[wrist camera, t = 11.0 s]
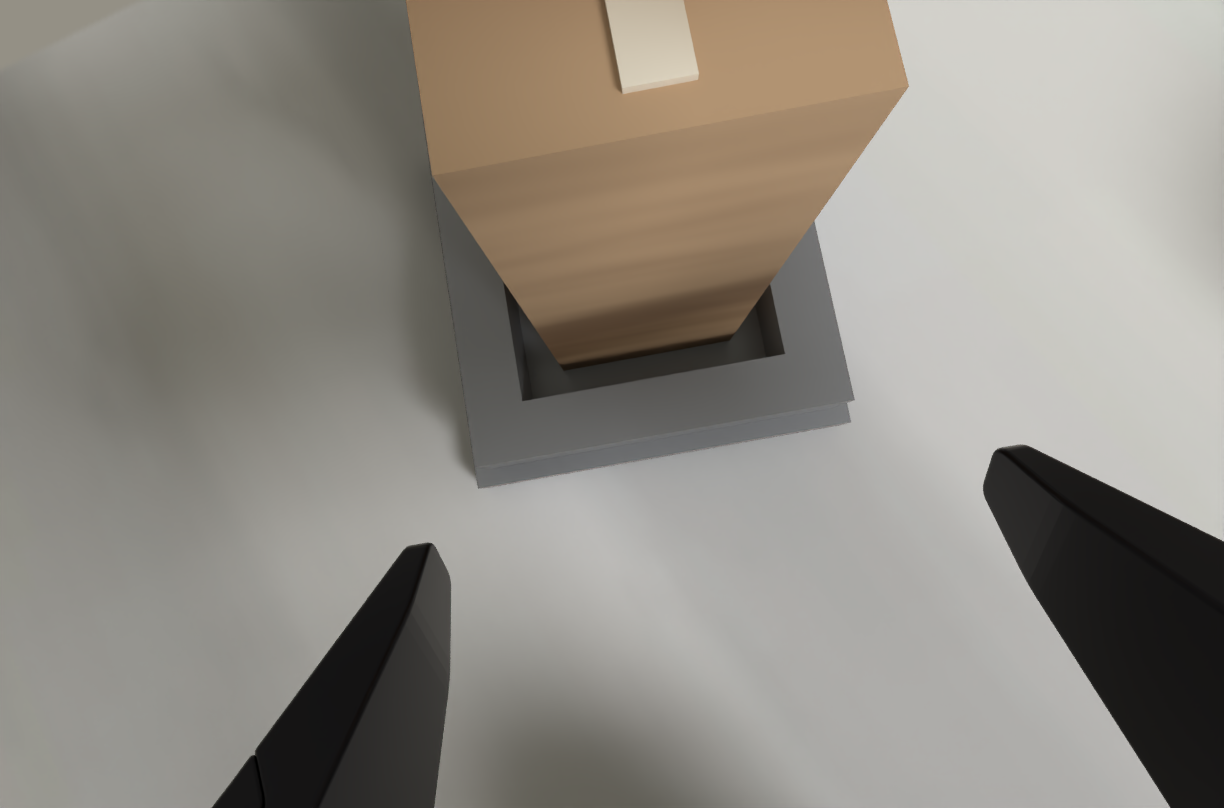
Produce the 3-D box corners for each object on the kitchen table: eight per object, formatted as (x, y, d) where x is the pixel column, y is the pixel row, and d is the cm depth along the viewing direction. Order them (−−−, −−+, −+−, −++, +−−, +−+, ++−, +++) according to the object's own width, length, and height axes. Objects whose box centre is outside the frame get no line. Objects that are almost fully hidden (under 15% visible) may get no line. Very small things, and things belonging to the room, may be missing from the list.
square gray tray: (839, 425, 19) (881, 415, 16) (485, 488, 19) (456, 490, 16) (766, 94, 20) (791, 23, 17) (436, 156, 20) (399, 97, 17)
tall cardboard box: (729, 340, 18) (912, 80, 6) (563, 370, 18) (429, 171, 6) (697, 182, 19) (807, -333, 7) (536, 212, 19) (366, -246, 7)
